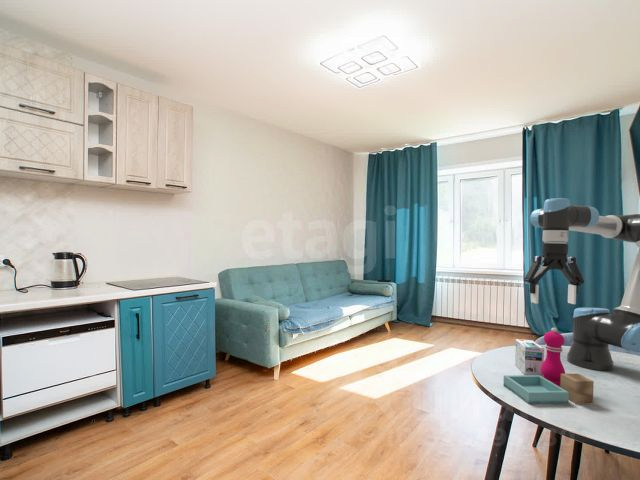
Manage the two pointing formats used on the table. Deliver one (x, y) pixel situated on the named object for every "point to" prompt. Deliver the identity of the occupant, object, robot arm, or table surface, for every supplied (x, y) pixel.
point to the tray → (536, 389)
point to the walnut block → (578, 388)
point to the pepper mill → (553, 357)
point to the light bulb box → (529, 357)
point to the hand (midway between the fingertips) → (553, 303)
